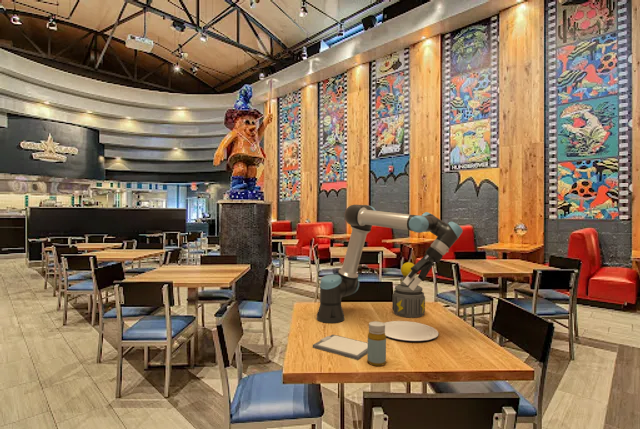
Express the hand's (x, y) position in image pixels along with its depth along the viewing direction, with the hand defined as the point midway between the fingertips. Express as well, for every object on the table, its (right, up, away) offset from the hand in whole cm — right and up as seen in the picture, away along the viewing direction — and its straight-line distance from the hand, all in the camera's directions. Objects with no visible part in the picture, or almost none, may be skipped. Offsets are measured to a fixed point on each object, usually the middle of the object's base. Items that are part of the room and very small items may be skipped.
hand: (408, 286), depth 161 cm
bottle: (-19, -24, -28) cm, 42 cm away
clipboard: (-31, -24, -13) cm, 41 cm away
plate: (+1, -25, +8) cm, 26 cm away
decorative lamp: (+11, -25, +40) cm, 48 cm away
